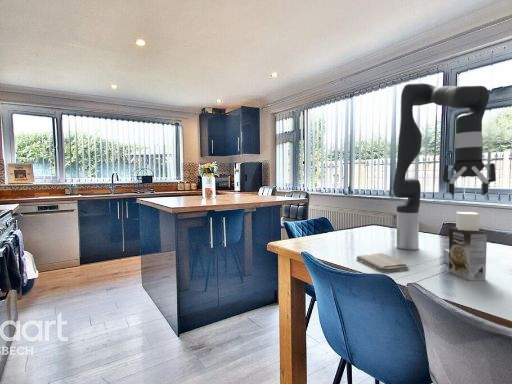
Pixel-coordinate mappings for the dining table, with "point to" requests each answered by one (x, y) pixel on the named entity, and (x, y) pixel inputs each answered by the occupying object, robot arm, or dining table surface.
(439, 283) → the dining table surface
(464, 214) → the cream cube
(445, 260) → the slate block
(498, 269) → the dining table surface
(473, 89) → the robot arm
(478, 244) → the coffee box
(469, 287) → the dining table surface
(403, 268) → the washcloth
